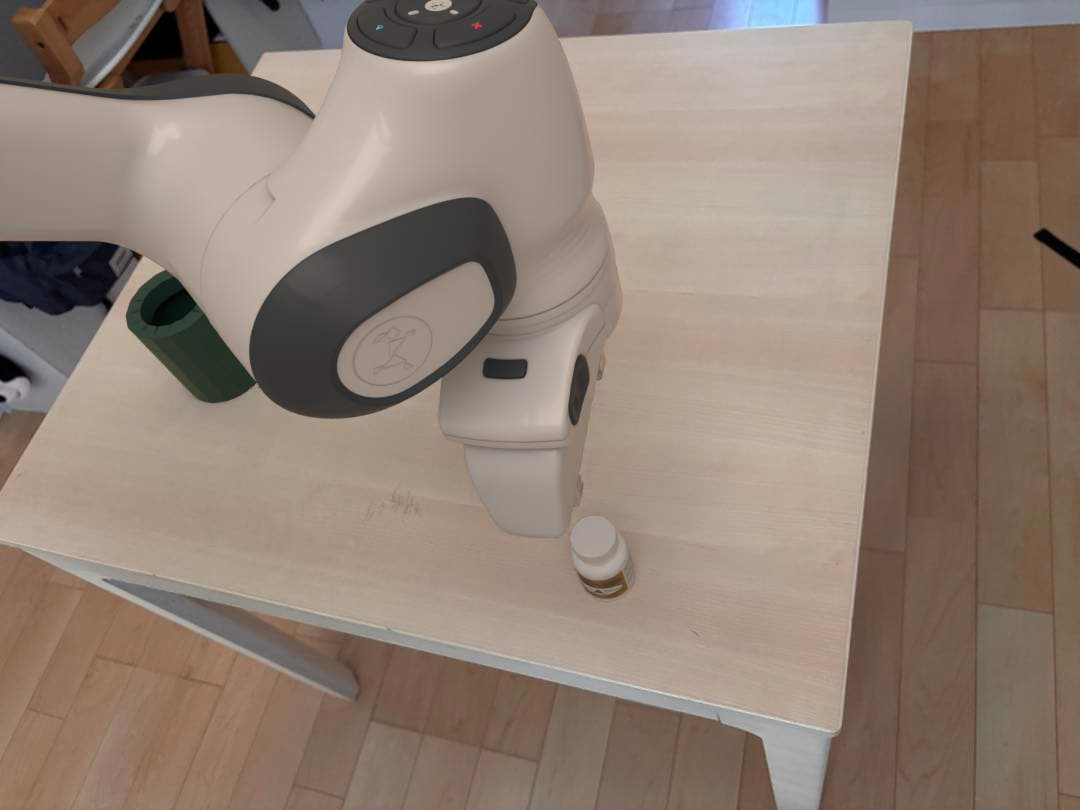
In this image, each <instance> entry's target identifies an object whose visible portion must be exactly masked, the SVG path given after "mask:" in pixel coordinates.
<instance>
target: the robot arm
mask: <svg viewBox="0 0 1080 810" xmlns="http://www.w3.org/2000/svg"><path fill="white" fill-rule="evenodd" d="M557 34H558V33H557V32H556V30H555V28H554V26H553V24H552V23H551V20H550V19H549V18H548V16H547V14H546V12H545V11H544V9H543V8H542V6H540V5H539V4H538V2H537V1H535V0H363V1H362V2H361V3H360V4H359V5H357V7H356V8H355V9H354V10H353V11H352V12H351V14H350V15H349V17H348V19H347V21H346V24H345V26H344V31H343V38H342V48H341V54H340V58H339V62H338V66H337V69H336V71H335V73H334V76H333V79H332V81H331V84H330V85H329V88H328V90H327V92H326V94H325V97H324V99H323V101H322V104H321V106H320V108H319V110H318V112H317V114H315V112H313V111H312V109H311V108H310V107H309V106H308V105H307V104H306V103H305V102H304V101H303V100H301V98H299V97H298V96H297V95H296V94H294V93H293V92H291V90H289V89H287V88H286V87H284V86H281V85H280V84H277V83H275V82H273V81H270V80H269V79H265V78H262V77H259V76H255V75H249V74H245V73H230V72H229V73H227V72H226V73H225V72H224V73H223V72H222V73H210V74H202V75H196V76H190V77H185V78H180V79H175V80H171V81H166V82H162V83H158V84H151V85H144V86H137V87H127V88H103V87H102V88H100V87H99V88H98V87H90V86H89V87H88V86H79V85H72V84H71V85H70V84H63V83H56V82H49V81H42V80H34V79H29V78H28V79H27V78H20V77H13V76H6V75H0V242H103V243H107V244H108V243H109V244H112V245H117V246H119V247H123V248H125V249H128V250H130V251H133V252H135V253H137V254H139V255H141V256H143V257H144V258H146V259H149V260H150V261H152V262H153V263H155V264H156V265H158V266H160V267H161V268H162V269H164V270H167V271H168V272H169V273H171V274H172V275H173V276H175V277H176V278H177V279H178V280H179V281H180V282H181V284H182V285H183V286H184V288H185V289H186V290H187V292H188V293H189V294H190V295H191V297H192V298H193V299H194V301H195V302H196V303H197V305H198V306H199V307H200V308H201V310H202V311H203V312H204V314H205V315H206V316H207V318H208V319H209V321H210V323H211V324H212V326H213V327H214V328H215V330H216V331H217V332H218V333H219V334H218V335H219V336H220V337H221V338H222V340H223V341H224V342H225V343H226V345H227V346H228V347H229V349H230V350H231V351H232V353H233V354H234V355H235V356H236V357H237V359H238V360H239V361H240V362H241V364H242V365H243V366H244V367H245V369H246V370H247V371H248V373H249V374H250V375H251V376H252V378H253V379H254V380H255V381H256V384H257V386H258V387H259V389H260V390H261V391H262V393H263V394H264V395H265V396H266V397H267V398H268V399H269V400H270V401H272V402H273V403H274V404H275V405H277V406H279V407H280V408H282V409H283V410H285V411H288V412H290V413H293V414H296V415H298V416H303V417H308V418H315V419H323V420H325V419H327V420H340V419H342V420H343V419H353V418H359V417H364V416H368V415H372V414H375V413H379V412H382V411H384V410H388V409H390V408H392V407H395V406H397V405H399V404H401V403H403V402H405V401H407V400H409V399H411V398H413V397H415V396H417V395H418V394H420V393H422V392H424V391H425V390H426V389H428V388H429V387H431V386H432V385H434V384H435V383H436V382H438V381H439V380H441V382H440V393H439V401H438V411H437V421H438V425H439V429H440V431H441V433H442V435H443V436H444V438H445V439H446V440H447V441H449V442H452V443H458V444H462V445H463V456H464V462H465V467H466V471H467V474H468V476H469V479H470V482H471V483H472V486H473V488H474V490H475V491H476V494H477V495H478V497H479V499H480V501H481V503H482V505H483V507H484V508H485V509H486V511H487V513H488V514H489V516H490V518H491V520H492V521H493V523H494V524H495V525H496V526H497V527H498V529H499V530H500V531H502V532H503V533H505V534H507V535H511V536H515V537H521V538H530V539H543V540H549V539H551V540H554V539H559V538H562V537H563V536H565V534H566V533H568V531H569V530H570V527H571V522H572V517H573V511H574V508H579V507H580V506H581V503H582V502H581V501H582V497H583V490H584V482H583V481H582V480H583V479H582V476H581V473H580V471H581V468H582V467H581V466H582V462H583V461H582V460H583V455H584V450H585V445H586V440H587V434H588V428H589V423H590V416H591V412H592V408H593V407H592V406H593V402H594V396H595V390H596V385H597V381H601V380H602V379H603V377H604V372H605V367H606V361H607V359H606V354H605V351H604V349H605V345H606V342H607V341H608V339H610V337H611V336H612V334H613V332H614V331H615V328H617V325H618V323H619V320H620V318H621V314H622V310H623V303H624V301H623V298H624V296H623V289H622V284H621V280H620V275H619V271H618V266H617V259H616V258H617V257H616V250H615V246H614V242H613V239H612V235H611V231H610V228H609V224H608V220H607V217H606V215H605V212H604V210H603V208H602V205H601V203H600V202H599V201H598V200H597V199H596V197H595V196H594V194H593V188H594V187H593V186H594V181H595V158H594V151H593V148H592V143H591V139H590V134H589V130H588V126H587V121H586V117H585V114H584V109H583V106H582V101H581V97H580V95H579V91H578V88H577V84H576V81H575V78H574V74H573V72H572V69H571V66H570V63H569V60H568V58H567V55H566V53H565V50H564V48H563V46H562V42H561V41H560V38H559V37H558V35H557Z"/></svg>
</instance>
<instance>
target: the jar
mask: <svg viewBox="0 0 1080 810" xmlns="http://www.w3.org/2000/svg"><path fill="white" fill-rule="evenodd" d="M125 322H126V326H127V329H128V330H129V331H130V333H132V334H133V335H134V336H135V338H137V339H138V341H139V342H141V343H142V345H144V346H145V348H146V349H147V350H148V351H149V352H150V353H151V354H152V355H153V356H154V357H155V358H156V359H157V360H158V361H159V362H160V363H161V364H162V365H163V366H164V367H165V368H166V370H168V371H169V372H170V373H171V375H172V376H174V378H175V379H176V380H177V381H178V382H179V383H180V384H181V385H182V386H183V387H184V388H185V389H186V390H187V391H188V392H189V393H190V394H191V395H192V396H193V397H195V398H196V399H197V400H199V401H201V402H203V403H204V402H205V403H210V404H211V403H213V404H216V403H224V402H228V401H230V400H233V399H236V398H238V397H239V396H241V395H243V394H245V393H246V392H247V391H249V390H250V389H251V388H252V387H254V386H255V385H256V384H257V382H256V381H255V380H254V379H253V378H252V376H251V375H250V374H249V373H248V371H247V370H246V369H245V367H244V366H243V365H242V364H241V362H240V361H239V360H238V359H237V357H236V356H235V355H234V354H233V353H232V351H231V350H230V349H229V347H228V346H227V345H226V343H225V342H224V341H223V340H222V338H221V337H220V336H219V335H218V334H219V333H218V332H217V331H216V330H215V328H214V327H213V326H212V324H211V323H210V321H209V319H208V318H207V316H206V315H205V314H204V312H203V311H202V310H201V308H200V307H199V306H198V305H197V303H196V302H195V301H194V299H193V298H192V297H191V295H190V294H189V293H188V292H187V290H186V289H185V288H184V286H183V285H182V284H181V282H180V281H179V280H178V279H177V278H176V277H175V276H173V275H172V274H171V273H169V272H168V271H167V270H165V269H164V270H162V271H160V272H158V273H155V274H154V275H153V276H152V277H150V278H149V279H148V280H147V281H146V282H144V283H143V284H142V285H141V286H140V287H139V288H138V290H137V291H136V292H135V293H134V295H133V296H132V298H131V299H130V300H129V303H128V306H127V309H126V313H125Z"/></svg>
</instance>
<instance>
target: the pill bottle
mask: <svg viewBox="0 0 1080 810" xmlns="http://www.w3.org/2000/svg"><path fill="white" fill-rule="evenodd" d="M569 539H570V540H569V541H570V545H571V547H570V558H571V559H570V560H571V563H572V566H573V568H574V570H575V572H576V574H577V576H578V578H579V580H580V583H581V585H582V587H583V589H584V591H585V592H586V593H587V594H588V595H589V596H590V597H591V598H593V599H595V600H597V601H602V602H613V601H614V602H615V601H618V600H619V599H621V598H623V597H624V596H626V595H627V594H628V593H629V592H630V591H631V589H632V587H633V585H634V584H635V579H636V570H635V565H634V562H633V559H632V555H631V553H630V550H629V546H628V543H627V542H626V539H625V536H623V535H622V532H620V531H619V530H618V529H616V528H615V526H614V524H613V523H612V522H611V521H610V520H609V519H608V518H606V517H604V516H601V515H595V514H594V515H588V516H585V517H583V518H581V519H579V520H577V522H576V523H575V524H574V526H573V527H572V529H571V531H570V536H569Z"/></svg>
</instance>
